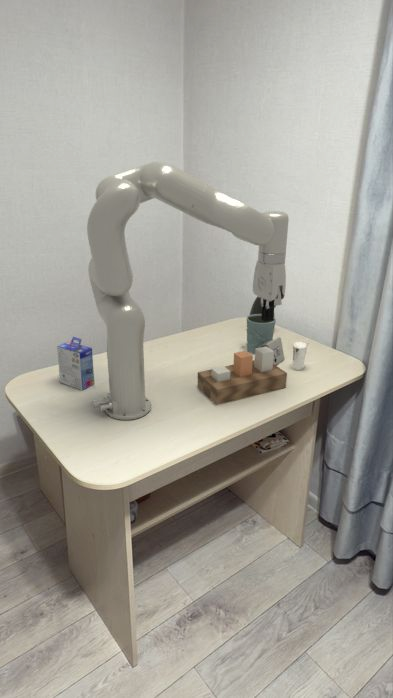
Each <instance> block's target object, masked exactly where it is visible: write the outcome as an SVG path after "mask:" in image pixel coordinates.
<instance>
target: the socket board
mask: <svg viewBox="0 0 393 698" xmlns="http://www.w3.org/2000/svg"><path fill="white" fill-rule="evenodd" d="M254 362H255V359H253V362H252V375H248V376H243V377H239V376H238V375H236V374H235V373H234V372H233V366H234V364H231V365H225V366H224V365H223V366H224V367H225V368H227V369H228V370H229V371H230V380H226V381H221V382H217V381H215V380H214V379H213V378H212V377H211V371H212V368H211V369H207V370H206V369H205V370H202V371H198V372H197V388H198V389H199V390H200V392H202V393H203V394H204V395H205V396H206V397H208V399H209V400H210V401H212V402H213V403H214V404H215V405H216V406H219V405H221V404H222V405H223V404H226V403H230V402H235V401H238V400H242V399H247V398H250V397H254V396H258V395H262V394H266V393H271V392H274V391H278V390H282V389H286V387H287V380H288V379H287V378H288V372H286V371H285V370H283V369H282V368H281V367H278V366H277V365H274V364H273V369H272V370H270V371H265V372H260V371H259V370H257V369H256V368H254Z"/></svg>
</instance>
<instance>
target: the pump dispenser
mask: <svg viewBox="0 0 393 698" xmlns="http://www.w3.org/2000/svg"><path fill="white" fill-rule="evenodd" d="M253 314H262V306H261V300H260V298H259V297H258V296H257V295H256V298H255V299H254V300H253V303H252V305H251V307H250V311H249V315H253ZM274 318H275V319H276V316H275V315H274Z"/></svg>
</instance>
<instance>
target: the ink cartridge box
mask: <svg viewBox="0 0 393 698" xmlns="http://www.w3.org/2000/svg"><path fill="white" fill-rule="evenodd" d="M74 341H77V342H78V343H77V342H74ZM56 350H57V361H58V362H57V363H58V373H59V382H60V383H61V384H64V385H68V386H70V387H72V388H76V389H78V390H82V391H83V390H85V389H87V388H89V387H92V386H94V385H95V372H94V360H93V359H94V358H93V347H90V346H87V345H84V344H82V338H79V337H75V336H72V339H71V340H70V341H67V342H63V343H62V344H60V345H57V346H56Z"/></svg>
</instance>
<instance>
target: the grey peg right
mask: <svg viewBox="0 0 393 698" xmlns="http://www.w3.org/2000/svg"><path fill="white" fill-rule="evenodd" d="M273 358H274V351H273V350H271V349H270V348H268V347H262V348H257V349H255V354H254V360H255V362H254V368H256V369H257V370H259V371H260V372H265V371H270V370H272V369H273Z"/></svg>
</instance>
